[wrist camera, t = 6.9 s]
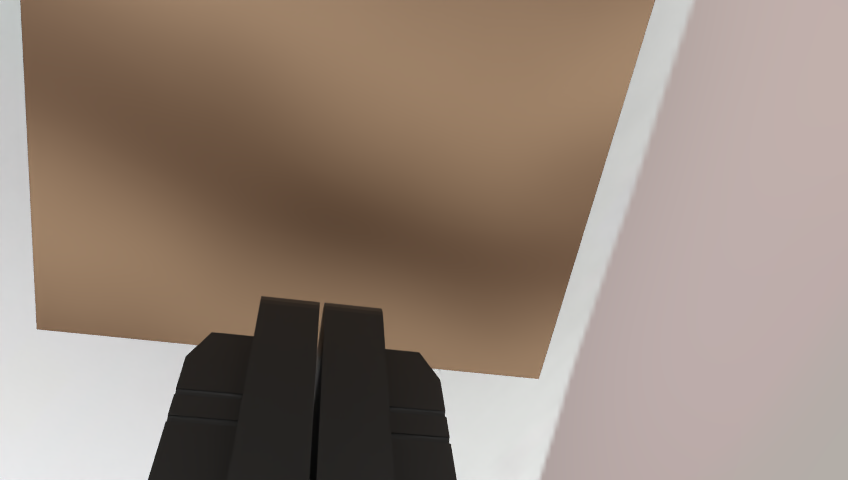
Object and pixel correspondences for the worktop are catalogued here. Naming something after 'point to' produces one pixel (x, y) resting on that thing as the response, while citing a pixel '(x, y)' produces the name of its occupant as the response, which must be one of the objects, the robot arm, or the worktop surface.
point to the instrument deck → (321, 163)
